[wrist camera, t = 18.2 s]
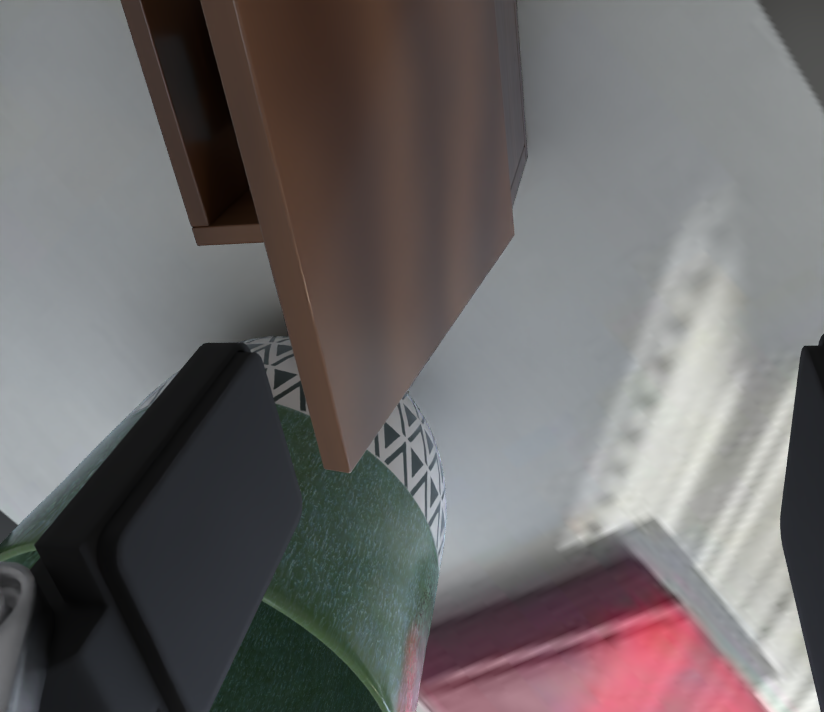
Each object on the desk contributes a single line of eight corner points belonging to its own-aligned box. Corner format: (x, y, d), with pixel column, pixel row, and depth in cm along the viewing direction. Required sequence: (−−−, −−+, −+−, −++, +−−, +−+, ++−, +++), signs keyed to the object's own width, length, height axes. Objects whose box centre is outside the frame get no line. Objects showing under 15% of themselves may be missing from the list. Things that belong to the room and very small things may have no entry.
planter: (354, 209, 42) (164, 470, 25) (542, 464, 49) (499, 814, 31) (128, 354, 51) (-129, 620, 34) (312, 552, 58) (178, 862, 40)
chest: (269, 177, 42) (196, 246, 35) (208, -71, 36) (104, -49, 29) (528, 157, 39) (506, 230, 31) (507, -121, 32) (475, -111, 25)
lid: (322, 470, 20) (350, 474, 20) (186, -45, 14) (223, -50, 14) (495, 235, 31) (515, 235, 31) (461, -109, 25) (484, -112, 25)
